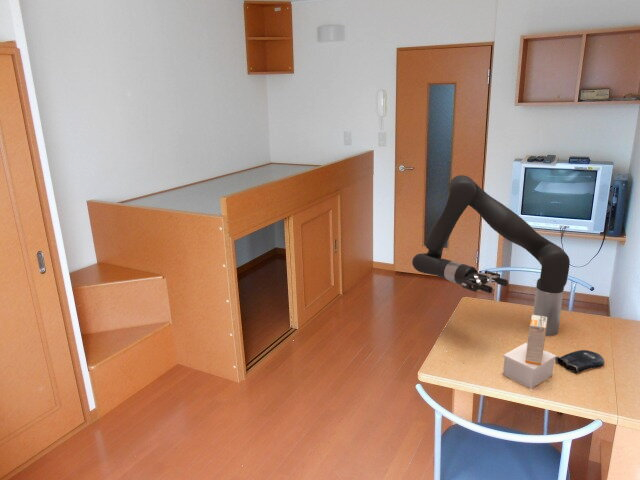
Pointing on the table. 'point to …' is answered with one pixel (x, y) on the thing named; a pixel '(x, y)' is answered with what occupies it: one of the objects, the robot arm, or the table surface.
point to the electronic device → (581, 360)
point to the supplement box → (536, 339)
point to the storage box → (527, 367)
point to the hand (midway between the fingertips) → (499, 286)
